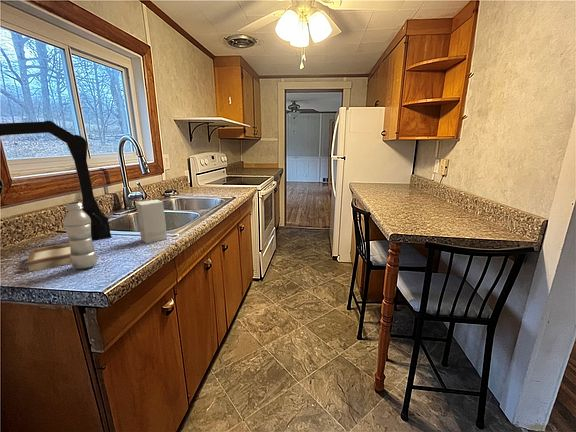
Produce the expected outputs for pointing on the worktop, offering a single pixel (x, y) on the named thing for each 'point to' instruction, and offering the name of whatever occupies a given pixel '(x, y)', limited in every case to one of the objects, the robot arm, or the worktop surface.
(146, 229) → the skincare box
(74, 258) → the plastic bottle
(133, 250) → the worktop surface
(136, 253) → the worktop surface
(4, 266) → the worktop surface
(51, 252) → the stand
